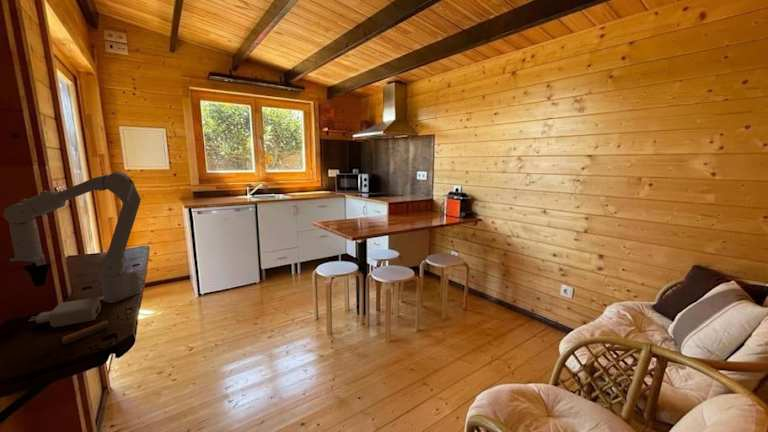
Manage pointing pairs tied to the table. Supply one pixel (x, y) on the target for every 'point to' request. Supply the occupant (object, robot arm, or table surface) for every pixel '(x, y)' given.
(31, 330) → the table surface
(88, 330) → the brown stick
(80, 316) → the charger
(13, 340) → the table surface
